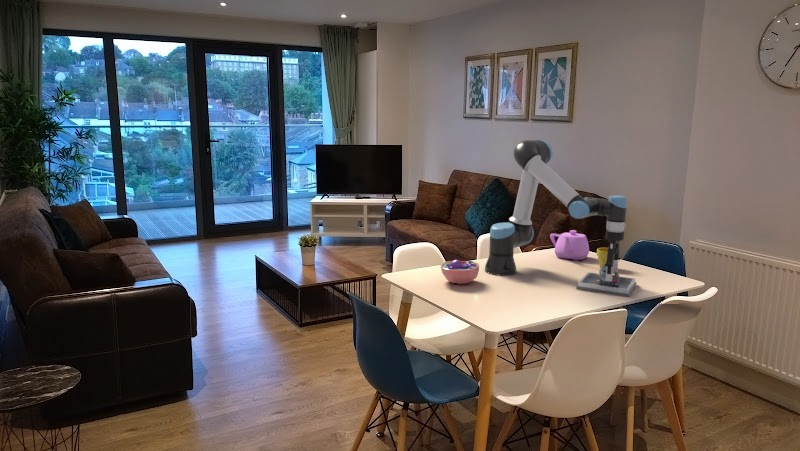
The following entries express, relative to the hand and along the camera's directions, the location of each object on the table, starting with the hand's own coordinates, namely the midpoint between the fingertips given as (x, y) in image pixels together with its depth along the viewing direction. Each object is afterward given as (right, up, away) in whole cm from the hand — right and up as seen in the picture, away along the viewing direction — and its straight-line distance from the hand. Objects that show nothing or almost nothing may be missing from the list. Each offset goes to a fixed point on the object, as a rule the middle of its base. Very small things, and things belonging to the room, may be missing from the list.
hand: (611, 277), depth 252 cm
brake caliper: (-1, -3, +1) cm, 4 cm away
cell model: (-67, -3, +5) cm, 67 cm away
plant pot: (+10, +1, +34) cm, 36 cm away
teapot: (-1, +5, +56) cm, 56 cm away
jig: (-2, -4, +1) cm, 5 cm away
